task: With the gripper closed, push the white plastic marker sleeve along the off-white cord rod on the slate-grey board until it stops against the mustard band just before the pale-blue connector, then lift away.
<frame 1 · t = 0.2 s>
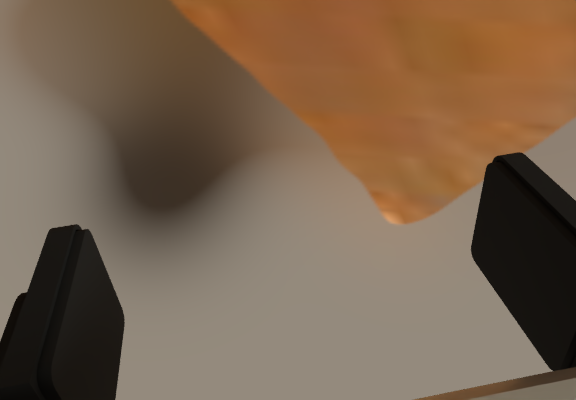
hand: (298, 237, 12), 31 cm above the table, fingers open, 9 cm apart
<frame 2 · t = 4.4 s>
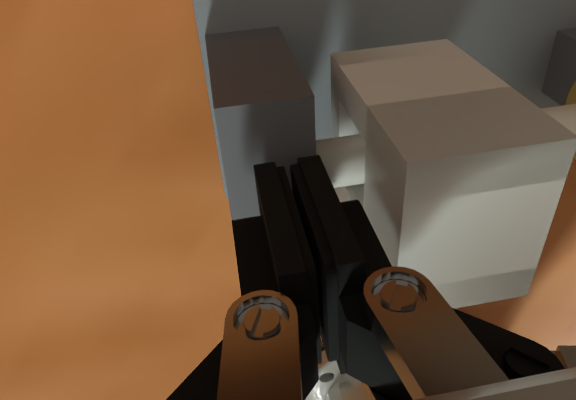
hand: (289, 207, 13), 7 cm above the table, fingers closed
marker sleeve: (422, 166, 14), point 6 cm above the table, slide at 0.7 cm, touching gripper
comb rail: (406, 71, 19), on the table
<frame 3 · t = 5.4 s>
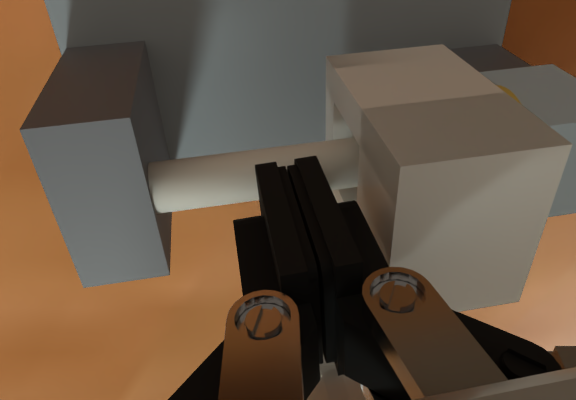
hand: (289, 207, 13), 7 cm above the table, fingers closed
marker sleeve: (415, 170, 14), point 6 cm above the table, slide at 4.8 cm, touching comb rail, gripper
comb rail: (294, 88, 18), on the table
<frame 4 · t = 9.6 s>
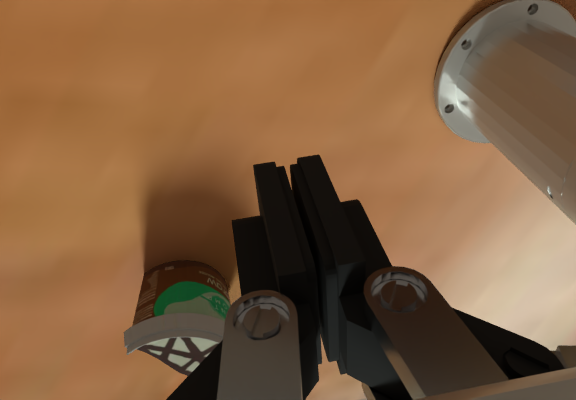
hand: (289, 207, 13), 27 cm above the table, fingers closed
food container: (200, 277, 50), on the table
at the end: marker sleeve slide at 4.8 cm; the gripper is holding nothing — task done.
